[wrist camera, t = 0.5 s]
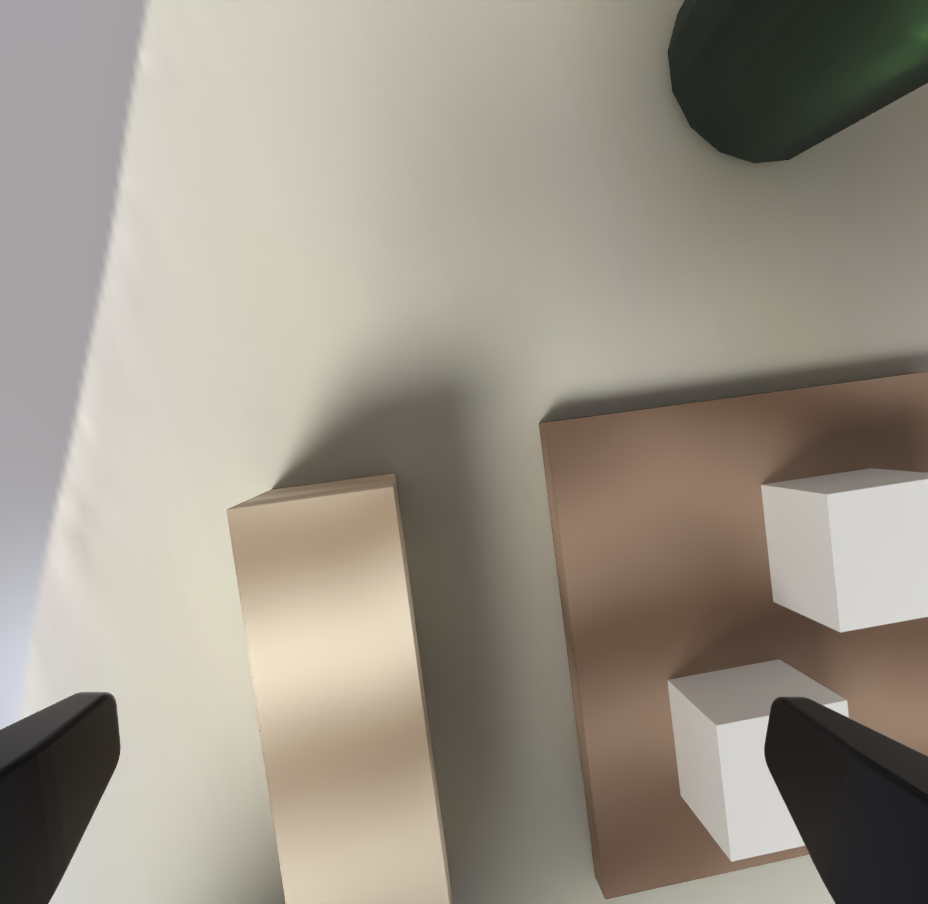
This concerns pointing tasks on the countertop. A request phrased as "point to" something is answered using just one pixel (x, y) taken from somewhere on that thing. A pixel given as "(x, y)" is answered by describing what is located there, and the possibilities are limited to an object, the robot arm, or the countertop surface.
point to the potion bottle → (792, 68)
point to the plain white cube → (737, 752)
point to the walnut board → (708, 593)
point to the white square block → (850, 546)
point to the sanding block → (340, 693)
